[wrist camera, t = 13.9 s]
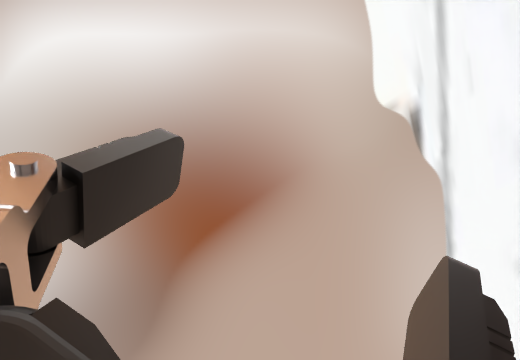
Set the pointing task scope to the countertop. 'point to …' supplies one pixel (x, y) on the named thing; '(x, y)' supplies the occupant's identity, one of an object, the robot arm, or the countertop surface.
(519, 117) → the countertop surface
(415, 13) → the countertop surface
